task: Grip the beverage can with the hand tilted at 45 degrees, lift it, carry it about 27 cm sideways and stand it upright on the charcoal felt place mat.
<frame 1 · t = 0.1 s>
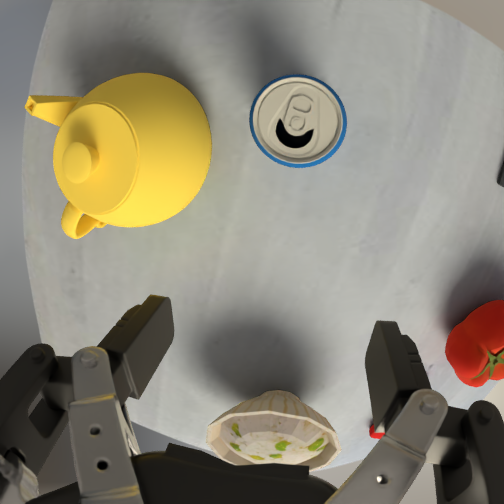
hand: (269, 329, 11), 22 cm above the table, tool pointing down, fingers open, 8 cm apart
bowl: (279, 403, 44), on the table
tomato: (475, 325, 34), on the table
beverage can: (300, 123, 29), on the table
teapot: (133, 147, 32), on the table
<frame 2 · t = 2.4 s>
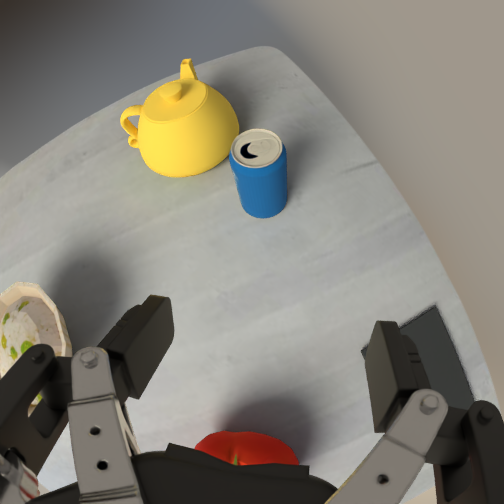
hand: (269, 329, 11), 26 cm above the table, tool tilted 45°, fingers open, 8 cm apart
bowl: (57, 355, 38), on the table
tomato: (248, 463, 31), on the table
beverage can: (264, 201, 43), on the table
place mat: (425, 387, 32), on the table
teapot: (187, 137, 49), on the table
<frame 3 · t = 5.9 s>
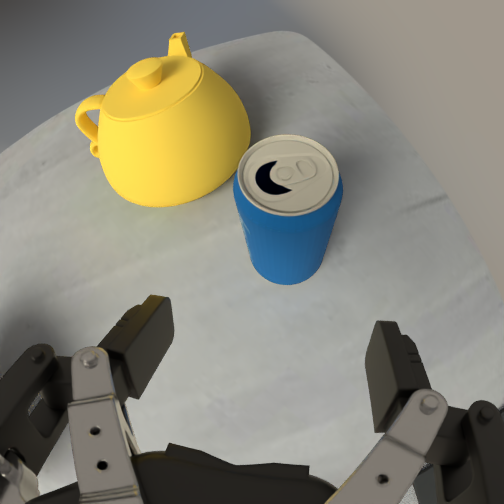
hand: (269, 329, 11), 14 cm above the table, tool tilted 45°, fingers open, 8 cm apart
beverage can: (286, 253, 28), on the table
place mat: (476, 502, 15), on the table
teapot: (174, 144, 34), on the table
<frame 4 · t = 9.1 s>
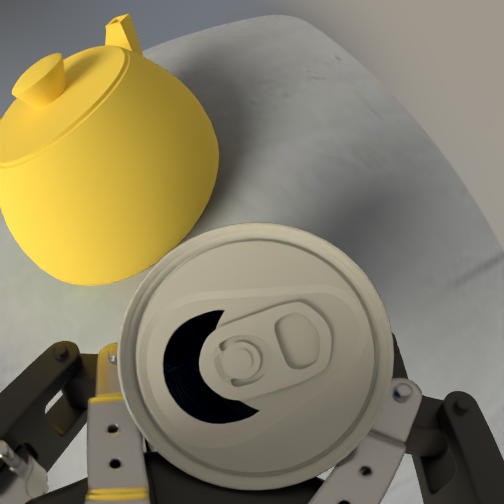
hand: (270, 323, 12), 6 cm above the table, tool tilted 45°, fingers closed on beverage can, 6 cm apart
beverage can: (270, 366, 17), on the table, touching gripper
teapot: (116, 176, 23), on the table
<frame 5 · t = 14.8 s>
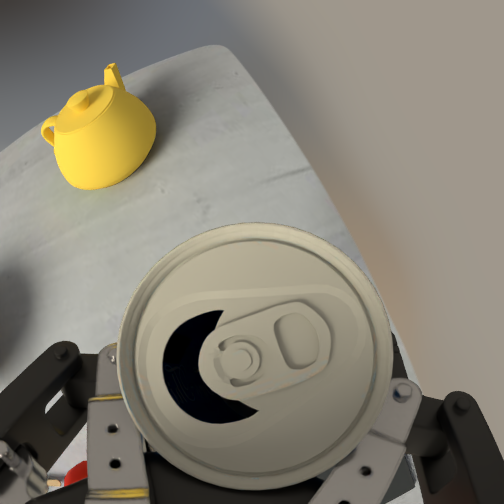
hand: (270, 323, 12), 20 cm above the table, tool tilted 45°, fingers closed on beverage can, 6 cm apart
tomato: (133, 496, 25), on the table
beverage can: (270, 366, 17), point 14 cm above the table, touching gripper
place mat: (341, 451, 26), on the table
teapot: (110, 146, 44), on the table
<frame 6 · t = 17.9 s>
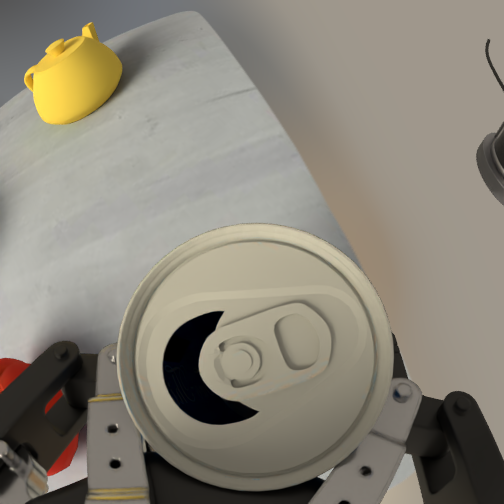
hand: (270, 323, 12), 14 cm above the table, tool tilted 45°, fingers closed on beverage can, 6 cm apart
tomato: (53, 414, 24), on the table
beverage can: (270, 366, 17), point 8 cm above the table, touching gripper
teapot: (84, 92, 43), on the table
when the fingers open (6 cm above the table, at t = 20.6 s): beverage can stays where it is, resting on place mat.
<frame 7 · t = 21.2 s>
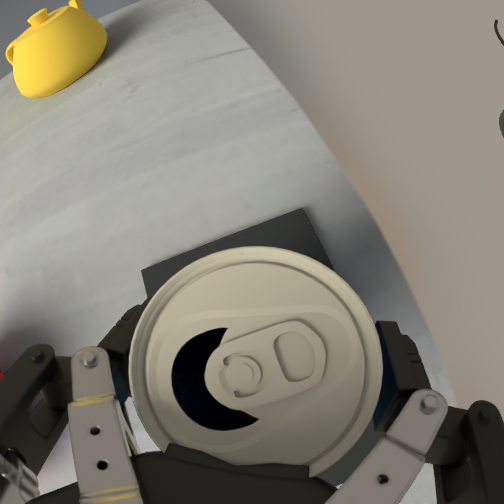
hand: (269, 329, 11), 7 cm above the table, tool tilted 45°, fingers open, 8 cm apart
beverage can: (270, 370, 17), resting on place mat
place mat: (270, 367, 18), on the table
teapot: (67, 66, 37), on the table
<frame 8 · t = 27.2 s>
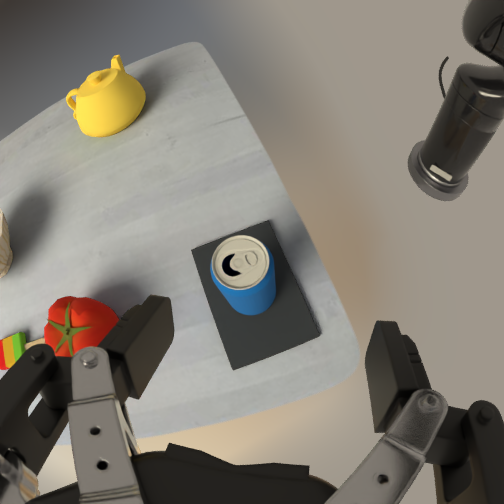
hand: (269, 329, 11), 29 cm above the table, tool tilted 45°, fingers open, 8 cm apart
bowl: (3, 262, 48), on the table
tomato: (99, 340, 41), on the table
popsicle: (23, 350, 41), on the table
beverage can: (251, 292, 41), resting on place mat
place mat: (252, 292, 41), on the table
teapot: (114, 111, 60), on the table
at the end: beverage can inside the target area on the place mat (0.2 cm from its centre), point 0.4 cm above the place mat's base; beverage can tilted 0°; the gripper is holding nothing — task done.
